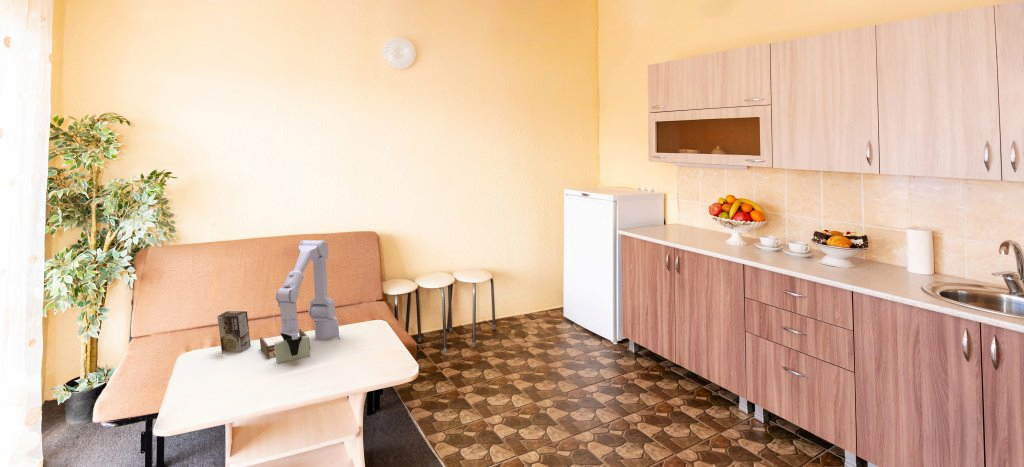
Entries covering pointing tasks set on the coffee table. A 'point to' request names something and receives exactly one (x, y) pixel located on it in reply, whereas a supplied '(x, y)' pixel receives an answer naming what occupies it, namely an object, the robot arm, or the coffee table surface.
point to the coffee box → (234, 331)
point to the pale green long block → (284, 350)
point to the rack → (269, 349)
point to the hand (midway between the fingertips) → (292, 352)
